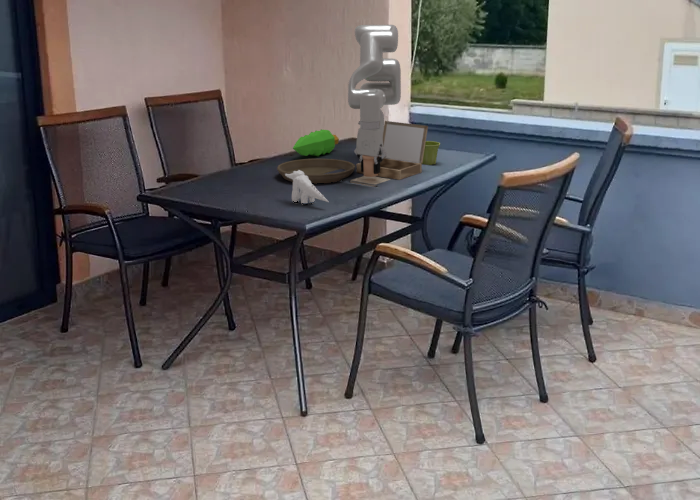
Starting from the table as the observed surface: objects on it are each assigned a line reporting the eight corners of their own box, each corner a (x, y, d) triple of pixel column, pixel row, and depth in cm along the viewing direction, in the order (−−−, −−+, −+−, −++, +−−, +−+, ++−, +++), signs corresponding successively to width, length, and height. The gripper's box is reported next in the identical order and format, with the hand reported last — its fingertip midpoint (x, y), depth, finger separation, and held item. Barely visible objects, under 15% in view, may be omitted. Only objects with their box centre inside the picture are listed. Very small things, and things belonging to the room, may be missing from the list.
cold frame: (356, 175, 349) (356, 163, 348) (379, 168, 360) (379, 157, 359) (399, 182, 337) (399, 170, 335) (421, 174, 348) (421, 163, 347)
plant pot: (439, 161, 371) (440, 141, 368) (439, 166, 362) (440, 145, 359) (417, 161, 372) (417, 140, 369) (417, 166, 363) (417, 145, 360)
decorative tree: (339, 123, 391) (297, 131, 367) (347, 148, 392) (306, 158, 368) (320, 131, 398) (278, 139, 374) (328, 155, 399) (286, 165, 375)
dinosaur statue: (292, 193, 320) (293, 164, 315) (336, 212, 304) (337, 181, 299) (277, 197, 315) (278, 167, 311) (321, 216, 299) (322, 185, 295)
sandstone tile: (350, 182, 337) (350, 180, 337) (366, 177, 345) (366, 175, 344) (375, 187, 330) (375, 184, 330) (390, 181, 338) (390, 179, 337)
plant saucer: (319, 164, 370) (318, 154, 368) (371, 176, 349) (371, 164, 347) (261, 177, 349) (261, 166, 348) (313, 190, 328) (313, 178, 327)
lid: (385, 120, 357) (386, 121, 358) (379, 156, 359) (380, 157, 360) (427, 125, 345) (428, 126, 346) (421, 163, 347) (422, 163, 347)
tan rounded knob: (359, 175, 336) (358, 155, 334) (369, 172, 341) (368, 152, 338) (372, 177, 332) (371, 157, 330) (381, 174, 337) (381, 154, 334)
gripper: (346, 124, 333) (347, 171, 339) (382, 129, 323) (382, 177, 328) (358, 121, 338) (359, 167, 344) (394, 126, 328) (394, 173, 334)
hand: (370, 171), depth 336 cm, fingers closed on tan rounded knob, 5 cm apart
